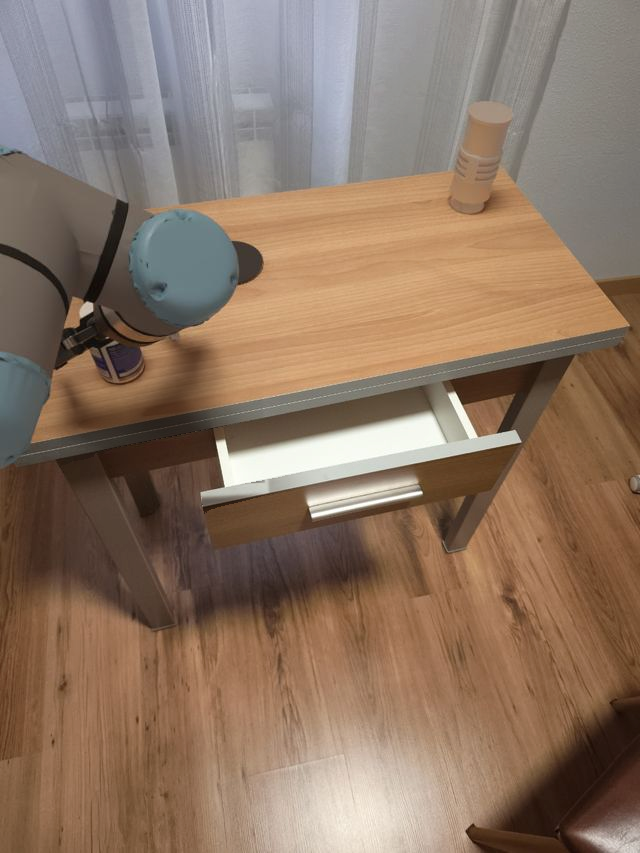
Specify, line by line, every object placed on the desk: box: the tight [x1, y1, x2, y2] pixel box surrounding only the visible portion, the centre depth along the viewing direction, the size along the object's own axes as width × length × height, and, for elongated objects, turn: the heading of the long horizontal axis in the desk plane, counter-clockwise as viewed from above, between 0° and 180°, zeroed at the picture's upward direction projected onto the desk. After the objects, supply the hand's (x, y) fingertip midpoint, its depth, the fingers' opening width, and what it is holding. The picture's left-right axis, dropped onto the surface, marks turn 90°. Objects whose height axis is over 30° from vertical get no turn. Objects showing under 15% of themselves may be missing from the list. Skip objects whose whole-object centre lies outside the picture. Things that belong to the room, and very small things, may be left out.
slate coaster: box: [231, 240, 264, 286], centre depth 85 cm, size 10×10×1 cm
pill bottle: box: [78, 301, 145, 384], centre depth 68 cm, size 6×6×10 cm
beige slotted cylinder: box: [449, 100, 515, 215], centre depth 90 cm, size 7×7×15 cm
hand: (103, 332), depth 70 cm, fingers open, 13 cm apart
